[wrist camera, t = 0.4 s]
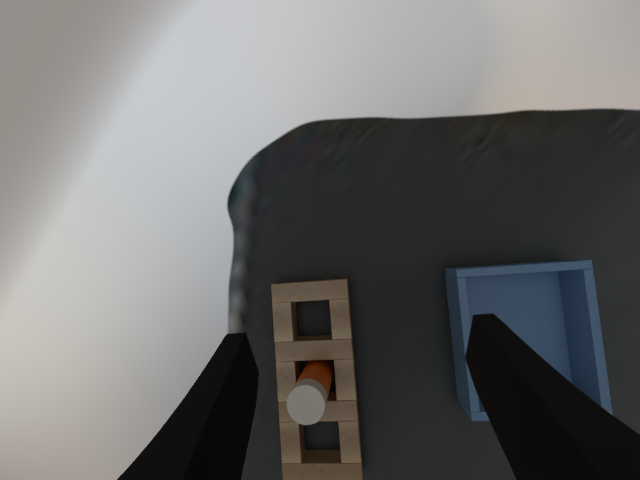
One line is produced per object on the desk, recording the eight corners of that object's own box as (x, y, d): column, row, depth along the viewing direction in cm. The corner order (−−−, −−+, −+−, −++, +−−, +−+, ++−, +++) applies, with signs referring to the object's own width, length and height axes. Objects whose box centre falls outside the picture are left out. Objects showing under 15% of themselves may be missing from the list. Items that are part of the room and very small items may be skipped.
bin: (579, 397, 33) (613, 418, 29) (457, 400, 35) (471, 421, 30) (561, 260, 34) (592, 259, 30) (444, 268, 36) (456, 269, 31)
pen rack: (363, 468, 35) (363, 484, 33) (288, 468, 36) (283, 484, 34) (348, 277, 37) (347, 278, 34) (277, 282, 38) (270, 284, 35)
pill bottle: (334, 387, 36) (326, 425, 28) (304, 388, 37) (287, 426, 28) (332, 356, 37) (323, 384, 28) (302, 357, 37) (285, 385, 29)
